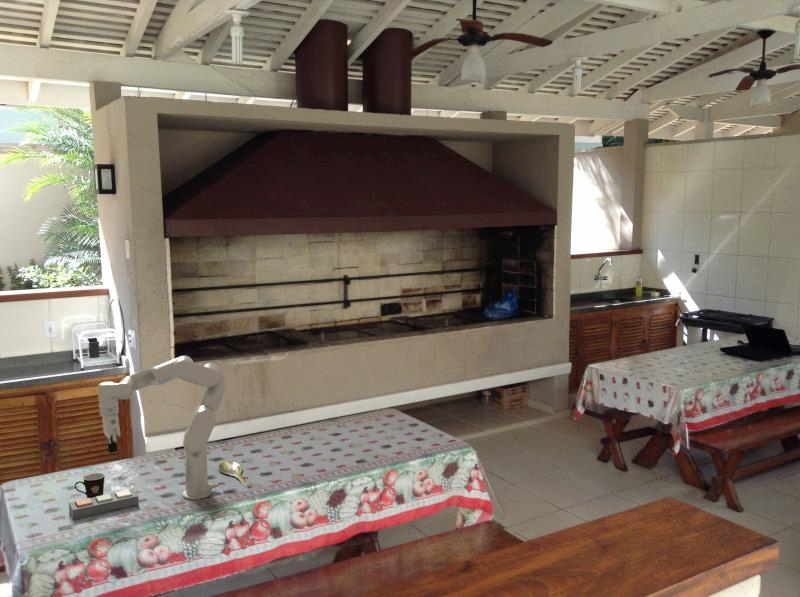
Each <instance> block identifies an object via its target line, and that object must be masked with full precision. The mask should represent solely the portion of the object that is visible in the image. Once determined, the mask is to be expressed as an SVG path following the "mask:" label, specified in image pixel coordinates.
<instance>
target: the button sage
mask: <svg viewBox="0 0 800 597" xmlns="http://www.w3.org/2000/svg"><path fill="white" fill-rule="evenodd" d="M110 494H111V493H106V494H103V495H101V496H96V501H97V503H102V502H107V501H111V500H112V497H111V496H110Z"/></svg>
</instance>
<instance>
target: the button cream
mask: <svg viewBox="0 0 800 597" xmlns="http://www.w3.org/2000/svg"><path fill="white" fill-rule="evenodd" d="M129 490H130V489H125V490H122V491H117V492H114V493H115V495H116V497H117V499H120V498H125V497H130V496H132V494H131V493H130V491H129Z"/></svg>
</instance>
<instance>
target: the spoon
mask: <svg viewBox="0 0 800 597" xmlns="http://www.w3.org/2000/svg"><path fill="white" fill-rule="evenodd" d="M217 469H218V470H219V472H221V473H223V474H225V475H228V476H231V477H235V478H237V479H238V480H239V481H240V483H241V484H242V485H243V484H245V483H246V482H248V481H247V480H246V479H245V478H243V476H242V471H243V467H242V466H241V465H240V464H239V463H237V462H235V461H231V460H230V461H229V460H226V461H222V462H219V463H218V465H217ZM230 469H233V470H232V471H234V470H236V473H235V472H233V473H234V474H231V472H229V471H231V470H230ZM228 470H229V471H228ZM227 471H228V472H227Z"/></svg>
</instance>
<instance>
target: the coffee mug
mask: <svg viewBox="0 0 800 597" xmlns="http://www.w3.org/2000/svg"><path fill="white" fill-rule="evenodd" d="M77 484H82V485H83V487H84V488H85V491H83V490H79V489H78V488H77ZM104 486H105V473H102V472H101V473H100V472H94V473H89V474H86V475H85V476H84V477H83V481H81V480H80V481H76V482H75V484H74V489H75V490H76V491H77V492H79V493H82V494H84V495H85V496H86V499H87V498H93V497H96V496H101V495H104V488H105V487H104Z"/></svg>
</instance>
